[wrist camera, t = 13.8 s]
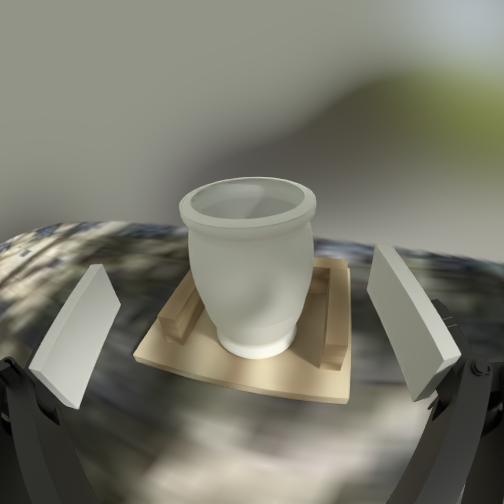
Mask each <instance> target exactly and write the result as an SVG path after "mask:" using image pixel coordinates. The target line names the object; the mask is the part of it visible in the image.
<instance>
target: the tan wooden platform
mask: <svg viewBox="0 0 504 504" xmlns="http://www.w3.org/2000/svg"><path fill="white" fill-rule="evenodd" d="M157 317H158V318H157V319H156V321H155V322H154V324H153V325H152V327H151V328H150V330H149V331H148V333H147V334H146V336H145V337H144V339H143V340H142V342H141V343H140V345H139V346H138V348H137V349H136V351H135V352H134V354H133V356H134V358H135V359H136V361H137V362H140V363H143V364H146V365H149V366H152V367H155V368H158V369H161V370H164V371H167V372H171V373H174V374H177V375H181V376H184V377H188V378H192V379H195V380H199V381H203V382H207V383H211V384H215V385H219V386H224V387H228V388H233V389H237V390H242V391H247V392H253V393H258V394H264V395H270V396H276V397H283V398H290V399H297V400H305V401H315V402H325V403H337V404H346V403H347V401H348V399H349V388H350V367H351V291H350V270H349V268H347V260H342V259H331V258H319V257H314V261H313V272H312V278H311V282H310V286H309V289H308V293H307V295H306V298H305V302H304V306H303V309H302V312H301V315H300V317H299V319H298V321H297V322H296V326H297V332H296V336H295V339H294V340H293V342H292V344H291V345H290V346H289V347H288V348H287V349H286V350H284V351H283V352H281V353H280V354H278V355H275V356H273V357H270V358H265V359H247V358H242V357H239V356H237V355H234V354H232V353H231V352H229V351H228V350H227V349H225V348H224V346H223V345H222V344H221V343H220V341H219V339H218V336H217V327H216V326H215V324H214V323H213V322H212V320H211V318H210V317H209V315H208V313H207V310H206V308H205V305H204V303H203V301H202V299H201V297H200V295H199V293H198V290H197V288H196V285H195V282H194V279H193V275H192V271H191V269H190V270H189V272H188V273H187V274H186V276H185V277H184V279H183V280H182V281H181V283H180V284H179V286H178V287H177V288H176V290H175V291H174V293H173V294H172V295H171V297H170V298H169V300H168V301H167V303H166V304H165V305H164V307H163V308H162V310H161V311H160V313H159V314H158V316H157Z"/></svg>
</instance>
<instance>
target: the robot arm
mask: <svg viewBox="0 0 504 504" xmlns="http://www.w3.org/2000/svg"><path fill="white" fill-rule="evenodd" d="M367 292H368V294H369V296H370V298H371V300H372V302H373V304H374V307H375V309H376V311H377V313H378V315H379V318H380V320H381V322H382V324H383V327H384V329H385V331H386V333H387V336H388V338H389V341H390V343H391V345H392V348H393V350H394V353H395V355H396V358H397V360H398V363H399V365H400V368H401V370H402V373H403V376H404V378H405V381H406V384H407V386H408V389H409V392H410V395H411V397H412V400H413V402H416V401H419V400H422V399H425V398H428V397H430V396H431V394H432V393H433V392H434V391H435V389H436V391H437V393H438V396H437V397H436V399H435V400H434V401H433V402H432V403H431V404H430V406H429V407H428V410H430V409H431V408H432V407H433V408H432V411H431V414H430V416H429V419H428V422H427V424H426V427H425V429H424V432H423V434H422V436H421V439H420V441H419V443H418V445H417V448H416V450H415V452H414V454H413V456H412V458H411V460H410V462H409V464H408V466H407V468H406V470H405V472H404V474H403V476H402V477H401V479H400V481H399V483H398V485H397V486H396V488H395V490H394V491H393V493H392V495H391V496H390V498H389V500H388V501H387V503H386V504H456V502H457V500H458V498H459V496H460V494H461V491H462V489H463V487H464V484H465V482H466V484H465V488H464V493H463V497H462V501H461V504H504V362H497V363H490V361H489V360H488V359H487V358H486V357H484V356H483V355H480V354H475V353H474V352H473V350H472V349H471V347H470V345H469V343H468V342H467V340H466V338H465V336H464V335H463V333H462V331H461V330H460V328H459V326H457V323H456V321H455V320H454V318H452V315H451V313H450V312H449V310H448V309H447V307H446V306H445V305H443V304H442V303H441V302H440V301H439V300H437V299H436V300H431V301H430V300H429V298H428V296H427V295H426V293H425V292H424V290H423V289H422V287H421V286H420V284H419V283H418V281H417V280H416V278H415V277H414V276H413V274H412V273H411V271H410V270H409V268H408V267H407V266H406V264H405V263H404V261H403V260H402V259H401V257H400V256H399V255H398V253H397V252H396V250H395V249H394V248H393V246H392V245H391V244H390V243H383V244H376V245H375V251H374V257H373V262H372V267H371V272H370V277H369V282H368V287H367ZM120 306H121V304H120V302H119V300H118V298H117V296H116V294H115V291H114V289H113V287H112V285H111V283H110V280H109V278H108V276H107V273H106V271H105V269H104V266H103V264H94V265H90V267H89V268H88V270H87V271H86V273H85V274H84V275H83V277H82V278H81V280H80V281H79V283H78V284H77V286H76V287H75V289H74V290H73V292H72V293H71V295H70V296H69V298H68V299H67V301H66V302H65V304H64V306H63V307H62V309H61V310H60V312H59V314H58V315H57V317H56V319H55V320H54V321H53V322H52V323H51V324H50V325H49V326H48V327H47V328H46V329H45V331H44V332H43V334H42V336H41V339H40V340H39V341H38V343H37V345H36V347H35V349H34V350H33V352H32V354H31V356H30V358H29V360H28V362H27V364H26V366H25V368H24V370H23V369H22V368H21V367H20V366H19V365H18V364H17V362H16V361H15V360H14V359H13V358H12V357H5V358H3V359H2V360H1V361H0V504H100V503H99V501H98V499H97V497H96V496H95V494H94V492H93V490H92V488H91V486H90V484H89V482H88V480H87V478H86V475H85V473H84V471H83V469H82V467H81V464H80V462H79V460H78V457H77V455H76V452H75V450H74V447H73V445H72V442H71V439H70V437H69V434H68V431H67V428H66V425H65V422H64V419H63V416H62V412H61V409H60V407H59V405H58V404H57V401H58V399H59V400H60V401H61V402H62V403H63V404H64V405H66V406H68V407H72V408H75V409H79V406H80V403H81V400H82V398H83V395H84V392H85V389H86V386H87V384H88V381H89V378H90V376H91V373H92V371H93V368H94V365H95V363H96V360H97V358H98V356H99V353H100V351H101V348H102V346H103V344H104V341H105V339H106V337H107V334H108V332H109V330H110V327H111V325H112V323H113V321H114V319H115V316H116V314H117V312H118V310H119V308H120ZM501 404H502V408H501ZM2 412H3V413H4V414H5V415H6V416H8V422H7V421H5V420H4V419H3V418H2V417H1V414H2Z"/></svg>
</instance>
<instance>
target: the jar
mask: <svg viewBox="0 0 504 504" xmlns="http://www.w3.org/2000/svg"><path fill="white" fill-rule="evenodd" d="M179 210H180V215H181V218H182V220H183V222H184V223H185V225H186V226H187V227H188V228H189V236H188V248H189V259H190V266H191V271H192V275H193V279H194V282H195V285H196V288H197V290H198V293H199V295H200V297H201V299H202V301H203V303H204V305H205V308H206V310H207V313H208V315H209V317H210V318H211V320H212V322H213V323H214V324H215V326H216V327H217V336H218V339H219V341H220V343H221V344H222V345H223V346H224V348H225V349H227V350H228V351H229V352H231V353H232V354H234V355H237V356H239V357H242V358H247V359H265V358H270V357H273V356H275V355H278V354H280V353H281V352H283V351H284V350H286V349H287V348H288V347H289V346H290V345H291V344H292V342H293V340H294V339H295V336H296V332H297V326H296V322H297V321H298V319H299V317H300V315H301V312H302V309H303V306H304V302H305V298H306V295H307V293H308V289H309V286H310V282H311V278H312V272H313V261H314V248H313V236H312V230H311V225H310V222H309V220H310V219H311V218H312V217H313V215H314V213H315V211H316V198H315V195H314V193H313V192H312V191H311V190H309V189H308V188H307V187H305V186H303V185H301V184H298V183H295V182H292V181H288V180H284V179H278V178H269V177H268V178H267V177H245V178H235V179H228V180H222V181H218V182H214V183H211V184H207V185H205V186H202V187H199V188H197V189H195V190H193V191H192V192H190V193H189V194H187V195H186V196H185V197H184V198H183V199H182V200H181V202H180V204H179Z"/></svg>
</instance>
